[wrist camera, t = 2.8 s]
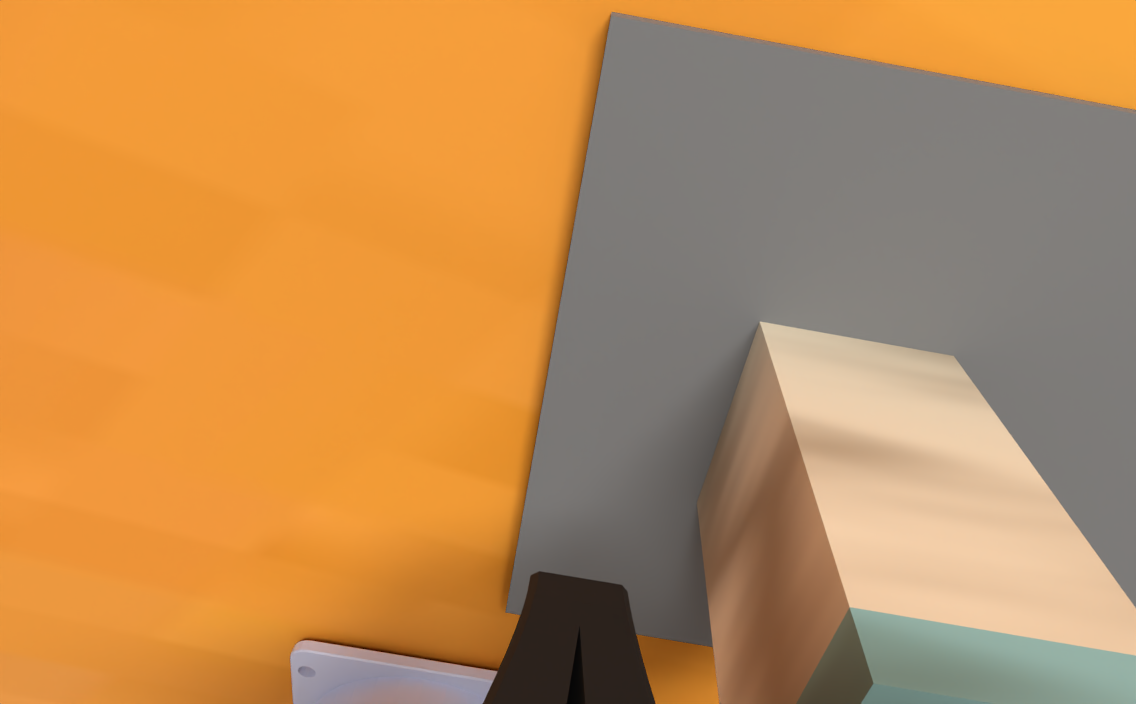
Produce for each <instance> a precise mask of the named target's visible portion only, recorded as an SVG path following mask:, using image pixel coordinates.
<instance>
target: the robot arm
mask: <svg viewBox="0 0 1136 704" xmlns="http://www.w3.org/2000/svg"><path fill="white" fill-rule="evenodd" d="M290 664H291V679H292V695H293V704H655V701H654V697H653V694H652V691H651V687H650V684H649V681H648V677H647V674H646V670H645V667H644V663H643V659H642V656H641V652H640V648H639V644H638V640H637V636H636V632H635V627H634V623H633V618H632V613H631V608H630V603H629V597H628V591H627V590H626V589H625V588H624V587H623V585H620V584H614V583H608V582H602V581H596V580H590V579H584V578H578V577H572V576H566V575H560V574H554V573H548V572H542V571H538V572H536V573H534V574H532V575H530V581H529V586H528V591H527V595H526V599H525V602H524V606H523V609H522V612H521V615H520V618H519V621H518V624H517V627H516V629H515V632H514V634H513V637H512V639H511V642H510V644H509V647H508V649H507V652H506V654H505V657H504V659H503V661H502V663H501V665H500V667H499V670H498V671H493V670H487V669H481V668H475V667H469V666H463V665H457V664H451V663H445V662H439V661H433V660H427V659H421V658H415V657H409V656H403V655H397V654H391V653H385V652H378V651H372V650H366V649H360V648H354V647H348V646H342V645H336V644H330V643H324V642H318V641H312V640H304V641H300V642H298V643H297V644H295V646H294V648H293V650H292V653H291V656H290Z"/></svg>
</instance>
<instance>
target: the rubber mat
mask: <svg viewBox="0 0 1136 704" xmlns="http://www.w3.org/2000/svg"><path fill="white" fill-rule="evenodd" d="M759 322H766V323H771V324H777V325H783V326H788V327H794V328H799V329H805V330H811V331H816V332H822V333H827V334H833V335H839V336H844V337H850V338H855V339H861V340H867V341H872V342H878V343H884V344H889V345H895V346H900V347H906V348H912V349H917V350H923V351H928V352H934V353H940V354H945V355H951V356H954V357H955V358H956V360H957V361H958V363H959V364H960V365H961V367H962V368H963V369H964V371H965V372H966V374H967V375H968V376H969V378H970V379H971V381H972V382H973V383H974V385H975V386H976V387H977V389H978V390H979V392H980V393H981V394H982V396H983V397H984V399H985V400H986V401H987V403H988V404H989V405H990V407H991V408H992V410H993V411H994V412H995V414H996V415H997V417H998V418H999V419H1000V421H1001V422H1002V423H1003V425H1004V426H1005V428H1006V429H1007V430H1008V432H1009V433H1010V435H1011V436H1012V437H1013V439H1014V440H1015V441H1016V443H1017V444H1018V446H1019V447H1020V448H1021V450H1022V451H1023V453H1024V454H1025V455H1026V457H1027V458H1028V459H1029V461H1030V462H1031V464H1032V465H1033V466H1034V468H1035V469H1036V471H1037V472H1038V473H1039V475H1040V476H1041V477H1042V479H1043V480H1044V482H1045V483H1046V484H1047V486H1048V487H1049V489H1050V490H1051V491H1052V493H1053V494H1054V495H1055V497H1056V498H1057V500H1058V501H1059V502H1060V504H1061V505H1062V507H1063V508H1064V509H1065V511H1066V512H1067V513H1068V515H1069V516H1070V518H1071V519H1072V520H1073V522H1074V523H1075V525H1076V526H1077V527H1078V529H1079V530H1080V531H1081V533H1082V534H1083V536H1084V537H1085V538H1086V540H1087V541H1088V543H1089V544H1090V545H1091V547H1092V548H1093V549H1094V551H1095V552H1096V554H1097V555H1098V556H1099V558H1100V559H1101V561H1102V562H1103V563H1104V565H1105V566H1106V567H1107V569H1108V570H1109V572H1110V573H1111V574H1112V576H1113V577H1114V579H1115V580H1116V581H1117V583H1118V584H1119V585H1120V587H1121V588H1122V590H1123V591H1124V592H1125V594H1126V595H1127V597H1128V598H1129V599H1130V601H1131V602H1132V603H1133V605H1134V606H1135V608H1136V110H1132V109H1127V108H1122V107H1116V106H1111V105H1106V104H1100V103H1095V102H1090V101H1084V100H1079V99H1074V98H1068V97H1063V96H1058V95H1052V94H1047V93H1042V92H1036V91H1031V90H1026V89H1020V88H1015V87H1010V86H1004V85H999V84H994V83H988V82H983V81H978V80H972V79H967V78H962V77H956V76H951V75H946V74H940V73H935V72H930V71H924V70H919V69H914V68H908V67H903V66H898V65H892V64H887V63H882V62H876V61H871V60H866V59H860V58H855V57H850V56H844V55H839V54H834V53H828V52H823V51H818V50H812V49H807V48H802V47H796V46H791V45H786V44H780V43H775V42H770V41H764V40H759V39H754V38H748V37H743V36H738V35H732V34H727V33H722V32H716V31H711V30H706V29H700V28H695V27H690V26H684V25H679V24H674V23H668V22H663V21H658V20H652V19H647V18H642V17H636V16H631V15H626V14H620V13H615V12H612V13H611V19H610V24H609V30H608V36H607V41H606V47H605V53H604V58H603V64H602V70H601V75H600V81H599V87H598V92H597V98H596V104H595V109H594V115H593V121H592V126H591V132H590V138H589V143H588V149H587V154H586V160H585V166H584V171H583V177H582V183H581V188H580V194H579V200H578V205H577V211H576V217H575V222H574V228H573V234H572V239H571V245H570V251H569V256H568V262H567V268H566V273H565V279H564V285H563V290H562V296H561V301H560V307H559V313H558V318H557V324H556V330H555V335H554V341H553V347H552V352H551V358H550V364H549V369H548V375H547V381H546V386H545V392H544V398H543V403H542V409H541V415H540V420H539V426H538V431H537V437H536V443H535V448H534V454H533V460H532V465H531V471H530V477H529V482H528V488H527V494H526V499H525V505H524V511H523V516H522V522H521V528H520V533H519V539H518V545H517V550H516V556H515V562H514V567H513V573H512V578H511V584H510V590H509V595H508V601H507V607H506V613H512V614H518V615H521V612H522V609H523V606H524V602H525V599H526V595H527V591H528V586H529V581H530V575H532V574H534V573H536V572H538V571H542V572H548V573H554V574H560V575H566V576H572V577H578V578H584V579H590V580H596V581H602V582H608V583H614V584H620V585H623V587H624V588H625V589H626V590H627V591H628V597H629V603H630V608H631V613H632V618H633V623H634V627H635V632H636V634H638V635H644V636H650V637H656V638H662V639H668V640H674V641H680V642H686V643H692V644H697V645H703V646H709V647H713V642H712V633H711V624H710V615H709V606H708V598H707V589H706V580H705V571H704V562H703V554H702V545H701V536H700V527H699V518H698V509H697V501H698V498H699V495H700V492H701V489H702V487H703V484H704V481H705V478H706V475H707V472H708V469H709V466H710V463H711V461H712V458H713V455H714V452H715V449H716V446H717V443H718V440H719V437H720V435H721V432H722V429H723V426H724V423H725V420H726V417H727V414H728V412H729V409H730V406H731V403H732V400H733V397H734V394H735V391H736V388H737V386H738V383H739V380H740V377H741V374H742V371H743V368H744V365H745V363H746V360H747V357H748V354H749V351H750V348H751V345H752V342H753V339H754V337H755V334H756V331H757V328H758V325H759Z"/></svg>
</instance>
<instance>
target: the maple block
mask: <svg viewBox="0 0 1136 704" xmlns="http://www.w3.org/2000/svg"><path fill="white" fill-rule="evenodd" d="M697 509H698V518H699V527H700V536H701V545H702V554H703V562H704V571H705V580H706V589H707V598H708V606H709V615H710V624H711V633H712V642H713V651H714V659H715V668H716V677H717V686H718V695H719V704H1136V608H1135V606H1134V605H1133V603H1132V602H1131V601H1130V599H1129V598H1128V597H1127V595H1126V594H1125V592H1124V591H1123V590H1122V588H1121V587H1120V585H1119V584H1118V583H1117V581H1116V580H1115V579H1114V577H1113V576H1112V574H1111V573H1110V572H1109V570H1108V569H1107V567H1106V566H1105V565H1104V563H1103V562H1102V561H1101V559H1100V558H1099V556H1098V555H1097V554H1096V552H1095V551H1094V549H1093V548H1092V547H1091V545H1090V544H1089V543H1088V541H1087V540H1086V538H1085V537H1084V536H1083V534H1082V533H1081V531H1080V530H1079V529H1078V527H1077V526H1076V525H1075V523H1074V522H1073V520H1072V519H1071V518H1070V516H1069V515H1068V513H1067V512H1066V511H1065V509H1064V508H1063V507H1062V505H1061V504H1060V502H1059V501H1058V500H1057V498H1056V497H1055V495H1054V494H1053V493H1052V491H1051V490H1050V489H1049V487H1048V486H1047V484H1046V483H1045V482H1044V480H1043V479H1042V477H1041V476H1040V475H1039V473H1038V472H1037V471H1036V469H1035V468H1034V466H1033V465H1032V464H1031V462H1030V461H1029V459H1028V458H1027V457H1026V455H1025V454H1024V453H1023V451H1022V450H1021V448H1020V447H1019V446H1018V444H1017V443H1016V441H1015V440H1014V439H1013V437H1012V436H1011V435H1010V433H1009V432H1008V430H1007V429H1006V428H1005V426H1004V425H1003V423H1002V422H1001V421H1000V419H999V418H998V417H997V415H996V414H995V412H994V411H993V410H992V408H991V407H990V405H989V404H988V403H987V401H986V400H985V399H984V397H983V396H982V394H981V393H980V392H979V390H978V389H977V387H976V386H975V385H974V383H973V382H972V381H971V379H970V378H969V376H968V375H967V374H966V372H965V371H964V369H963V368H962V367H961V365H960V364H959V363H958V361H957V360H956V358H955V357H954V356H951V355H945V354H940V353H934V352H928V351H923V350H917V349H912V348H906V347H900V346H895V345H889V344H884V343H878V342H872V341H867V340H861V339H855V338H850V337H844V336H839V335H833V334H827V333H822V332H816V331H811V330H805V329H799V328H794V327H788V326H783V325H777V324H771V323H766V322H759V325H758V328H757V331H756V334H755V337H754V339H753V342H752V345H751V348H750V351H749V354H748V357H747V360H746V363H745V365H744V368H743V371H742V374H741V377H740V380H739V383H738V386H737V388H736V391H735V394H734V397H733V400H732V403H731V406H730V409H729V412H728V414H727V417H726V420H725V423H724V426H723V429H722V432H721V435H720V437H719V440H718V443H717V446H716V449H715V452H714V455H713V458H712V461H711V463H710V466H709V469H708V472H707V475H706V478H705V481H704V484H703V487H702V489H701V492H700V495H699V498H698V501H697Z"/></svg>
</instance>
